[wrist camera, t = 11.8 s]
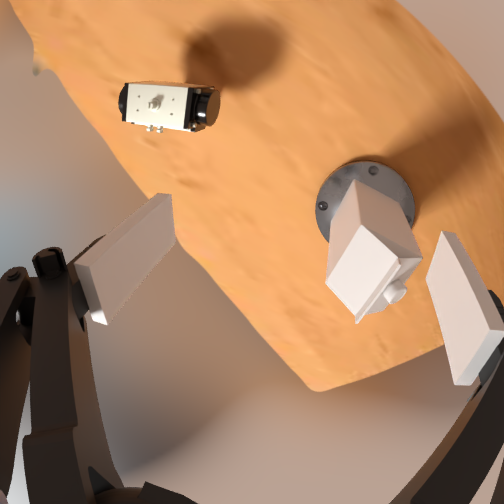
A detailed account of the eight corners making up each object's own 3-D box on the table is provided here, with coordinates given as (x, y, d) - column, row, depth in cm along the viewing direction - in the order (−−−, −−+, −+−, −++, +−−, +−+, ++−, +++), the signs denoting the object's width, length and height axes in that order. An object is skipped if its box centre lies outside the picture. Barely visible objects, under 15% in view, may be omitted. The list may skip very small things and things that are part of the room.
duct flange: (321, 153, 41) (321, 154, 40) (422, 170, 38) (424, 173, 37) (310, 245, 48) (309, 249, 47) (400, 260, 45) (401, 264, 44)
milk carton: (330, 221, 44) (321, 308, 28) (353, 177, 40) (363, 245, 24) (373, 243, 44) (387, 337, 28) (399, 202, 40) (433, 282, 24)
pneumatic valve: (160, 79, 40) (109, 83, 30) (236, 87, 39) (201, 89, 29) (156, 115, 43) (106, 128, 33) (230, 126, 42) (195, 141, 32)
